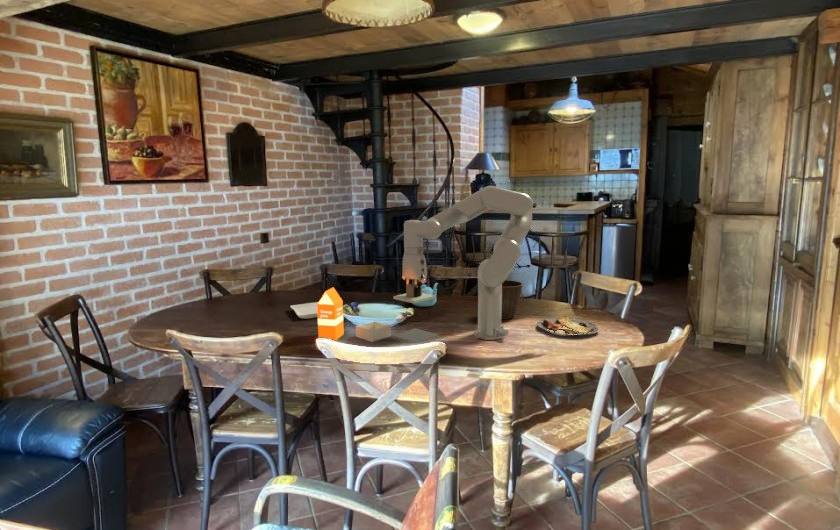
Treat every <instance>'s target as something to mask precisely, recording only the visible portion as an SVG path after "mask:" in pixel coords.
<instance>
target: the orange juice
mask: <svg viewBox="0 0 840 530" xmlns="http://www.w3.org/2000/svg"><path fill="white" fill-rule="evenodd" d="M317 302H318V304H317V312H318V318H317V330H318V331H317V332H318V333H317V334H318V339H319V338H320V337H324V338H330V339H333V340H332V341H337V340H338V339H339V338H341V337H342V336H343V335H344V334H345V333H344V332H345V331H344V305H343V303H344V302H343V299H342V297H340V295H339V293H338V292H337V290H336V289H335V287H334V286H333V287H331V288H328V289H327V290H325V291H324V293H323V294H322V296H321V298H320V299H319V301H317Z"/></svg>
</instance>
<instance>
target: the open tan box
mask: <svg viewBox="0 0 840 530" xmlns="http://www.w3.org/2000/svg"><path fill="white" fill-rule="evenodd" d="M355 334H356V338H358V339H361V340H364V341H368V342H371V343H374V342H378V341H381V340H384V339H388V338H391V337H392V336H391V335H392V325H391V324H387V323H384V322H383V323H382V322H380V321H377V320H373V321H370V322H365V323H362V324H358V325H355Z"/></svg>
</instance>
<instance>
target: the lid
mask: <svg viewBox="0 0 840 530" xmlns="http://www.w3.org/2000/svg"><path fill="white" fill-rule="evenodd" d="M414 287H415V282H413V283H412V284H407V285H405V293H403V294H398V295H393V300H397V301H402V302H406V303H410V304H413V303H418V302H422V301H426V300H430V299H434V298H435V296H433V295H429V294H424V293H422V287H421V296H419V297H414Z"/></svg>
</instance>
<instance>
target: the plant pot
mask: <svg viewBox="0 0 840 530" xmlns="http://www.w3.org/2000/svg"><path fill="white" fill-rule="evenodd" d="M522 291H523V283H522V282H520V281H517V280H507V279H505V281H504V282H503V283H502V313H501V320H510V319H511V318H512V319H513V318H515V315H516V313H517V309H518V306H519V305H520V304H519V303H520V300H521V295H522ZM512 319H511V320H512Z"/></svg>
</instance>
